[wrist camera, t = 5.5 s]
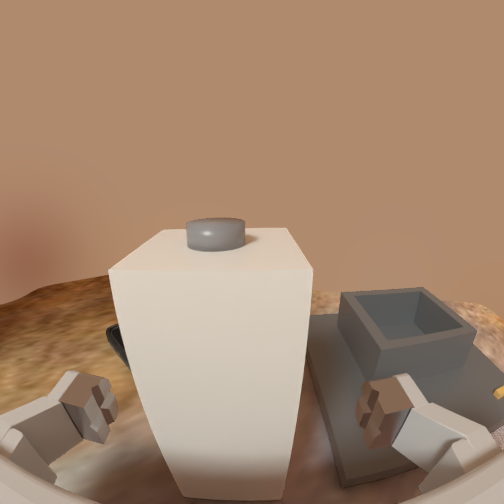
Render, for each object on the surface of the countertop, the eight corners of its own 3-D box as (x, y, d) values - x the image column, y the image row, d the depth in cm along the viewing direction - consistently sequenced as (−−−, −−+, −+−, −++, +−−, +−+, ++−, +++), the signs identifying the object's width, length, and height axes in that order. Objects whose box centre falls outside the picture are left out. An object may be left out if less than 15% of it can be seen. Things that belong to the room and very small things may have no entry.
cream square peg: (183, 496, 9) (104, 243, 5) (194, 431, 13) (162, 213, 10) (281, 499, 9) (315, 240, 5) (275, 432, 13) (286, 211, 10)
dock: (341, 488, 9) (364, 445, 8) (297, 325, 24) (299, 283, 23) (522, 412, 9) (549, 364, 8) (427, 313, 24) (435, 277, 23)
